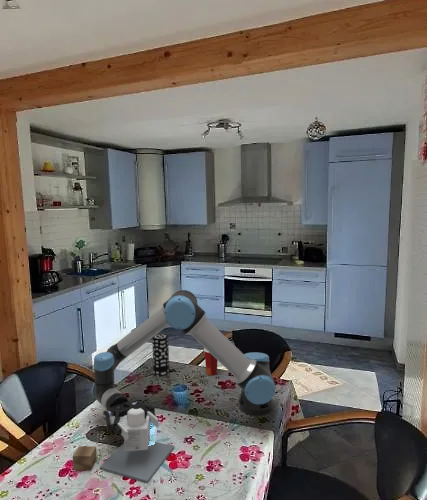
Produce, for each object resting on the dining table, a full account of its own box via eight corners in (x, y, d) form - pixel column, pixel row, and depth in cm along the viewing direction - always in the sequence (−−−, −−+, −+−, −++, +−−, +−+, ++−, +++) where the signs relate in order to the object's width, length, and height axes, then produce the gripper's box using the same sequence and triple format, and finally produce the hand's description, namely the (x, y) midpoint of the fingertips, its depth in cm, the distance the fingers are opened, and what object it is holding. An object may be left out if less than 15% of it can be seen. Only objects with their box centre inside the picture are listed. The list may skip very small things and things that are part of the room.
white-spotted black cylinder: (171, 371, 192) (171, 334, 191) (164, 377, 185) (163, 339, 183) (157, 369, 195) (157, 333, 193) (150, 375, 187) (149, 338, 185)
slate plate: (174, 448, 128) (174, 446, 128) (147, 483, 111) (147, 480, 111) (131, 437, 135) (131, 435, 134) (99, 469, 118) (99, 466, 118)
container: (127, 437, 126) (126, 401, 125) (149, 436, 127) (149, 400, 125) (124, 451, 118) (123, 413, 117) (147, 450, 119) (147, 412, 118)
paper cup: (219, 370, 193) (219, 345, 191) (218, 376, 185) (217, 350, 184) (204, 369, 193) (204, 344, 192) (203, 376, 186) (202, 349, 185)
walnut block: (96, 460, 122) (96, 446, 122) (91, 470, 117) (90, 456, 117) (79, 460, 123) (78, 446, 122) (73, 470, 118) (72, 455, 117)
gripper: (142, 402, 143) (172, 427, 126) (84, 423, 129) (109, 454, 112) (142, 384, 143) (172, 406, 125) (84, 403, 128) (109, 431, 111)
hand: (142, 429), depth 119 cm, fingers closed on container, 10 cm apart
